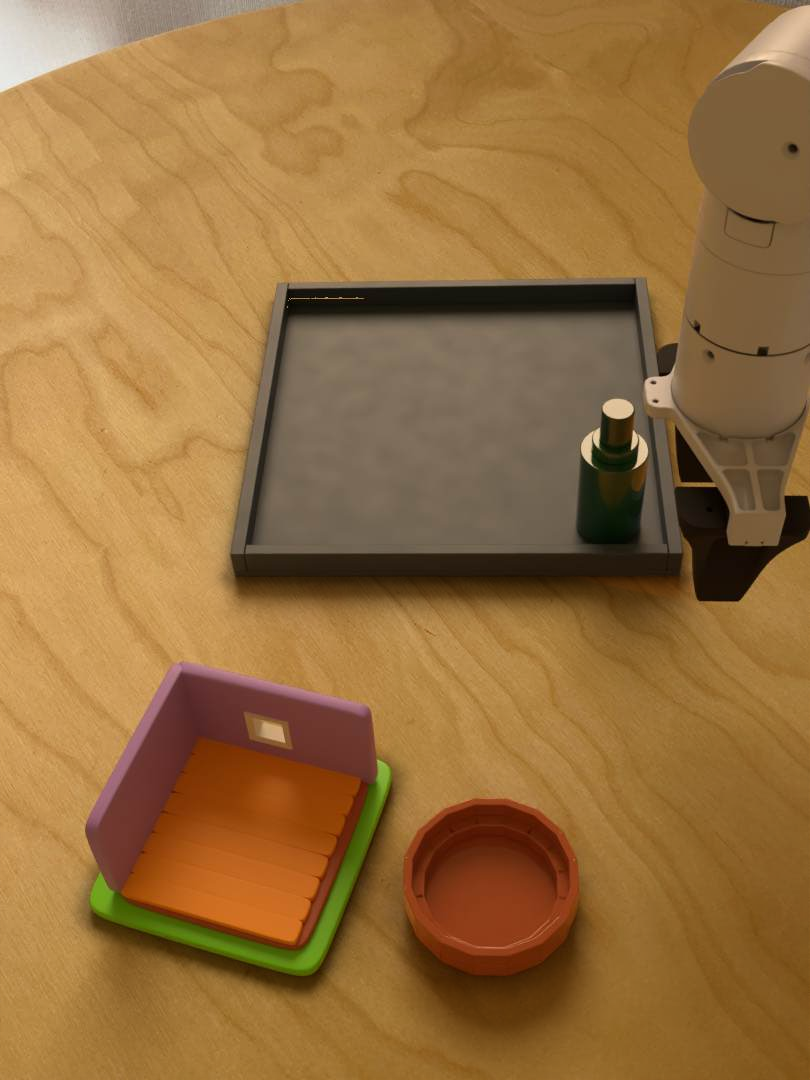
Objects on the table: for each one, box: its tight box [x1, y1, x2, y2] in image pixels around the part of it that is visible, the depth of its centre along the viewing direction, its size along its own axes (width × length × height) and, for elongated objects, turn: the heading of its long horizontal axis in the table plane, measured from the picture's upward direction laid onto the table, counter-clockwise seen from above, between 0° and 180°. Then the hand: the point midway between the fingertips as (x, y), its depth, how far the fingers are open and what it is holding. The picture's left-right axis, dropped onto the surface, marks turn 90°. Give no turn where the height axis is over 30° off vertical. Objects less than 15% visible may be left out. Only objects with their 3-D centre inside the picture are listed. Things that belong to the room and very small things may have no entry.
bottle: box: [575, 398, 649, 544], centre depth 75 cm, size 4×4×9 cm
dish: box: [402, 797, 580, 976], centre depth 62 cm, size 8×8×2 cm
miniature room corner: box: [84, 661, 393, 977], centre depth 63 cm, size 12×12×7 cm
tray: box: [229, 276, 684, 577], centre depth 85 cm, size 26×26×2 cm
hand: (708, 534), depth 65 cm, fingers open, 7 cm apart
